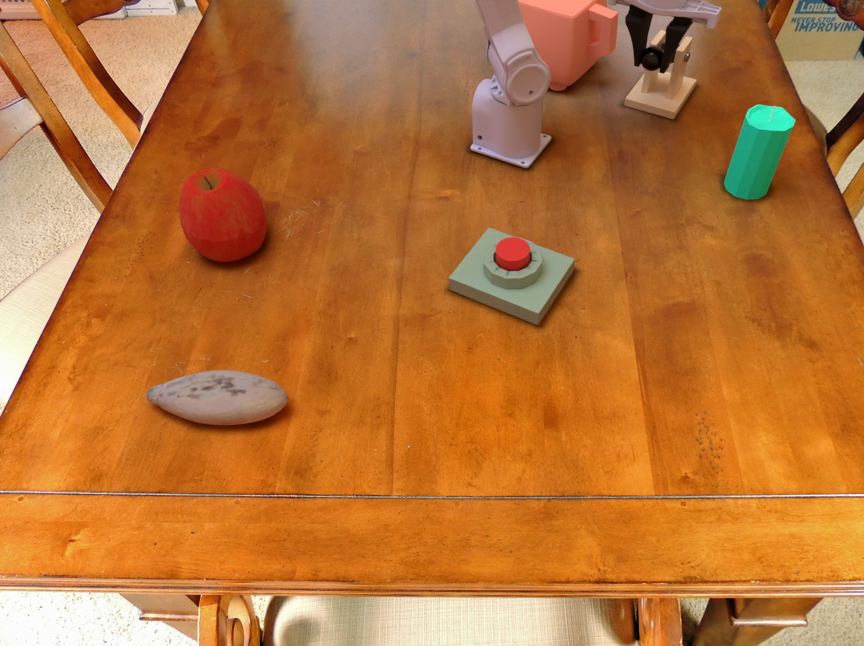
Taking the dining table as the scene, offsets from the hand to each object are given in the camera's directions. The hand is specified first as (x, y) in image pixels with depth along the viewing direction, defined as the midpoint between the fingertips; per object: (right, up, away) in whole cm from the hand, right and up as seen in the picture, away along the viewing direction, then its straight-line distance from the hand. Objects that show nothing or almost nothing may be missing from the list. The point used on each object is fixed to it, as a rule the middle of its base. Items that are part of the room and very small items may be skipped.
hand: (651, 66), depth 95 cm
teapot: (-13, +7, +17) cm, 22 cm away
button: (-20, -29, -14) cm, 38 cm away
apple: (-56, -26, -6) cm, 62 cm away
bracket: (+4, +1, +12) cm, 12 cm away
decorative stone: (-52, -46, -21) cm, 72 cm away
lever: (+2, +1, +3) cm, 4 cm away
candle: (+13, -17, -1) cm, 21 cm away
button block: (-20, -31, -11) cm, 39 cm away
